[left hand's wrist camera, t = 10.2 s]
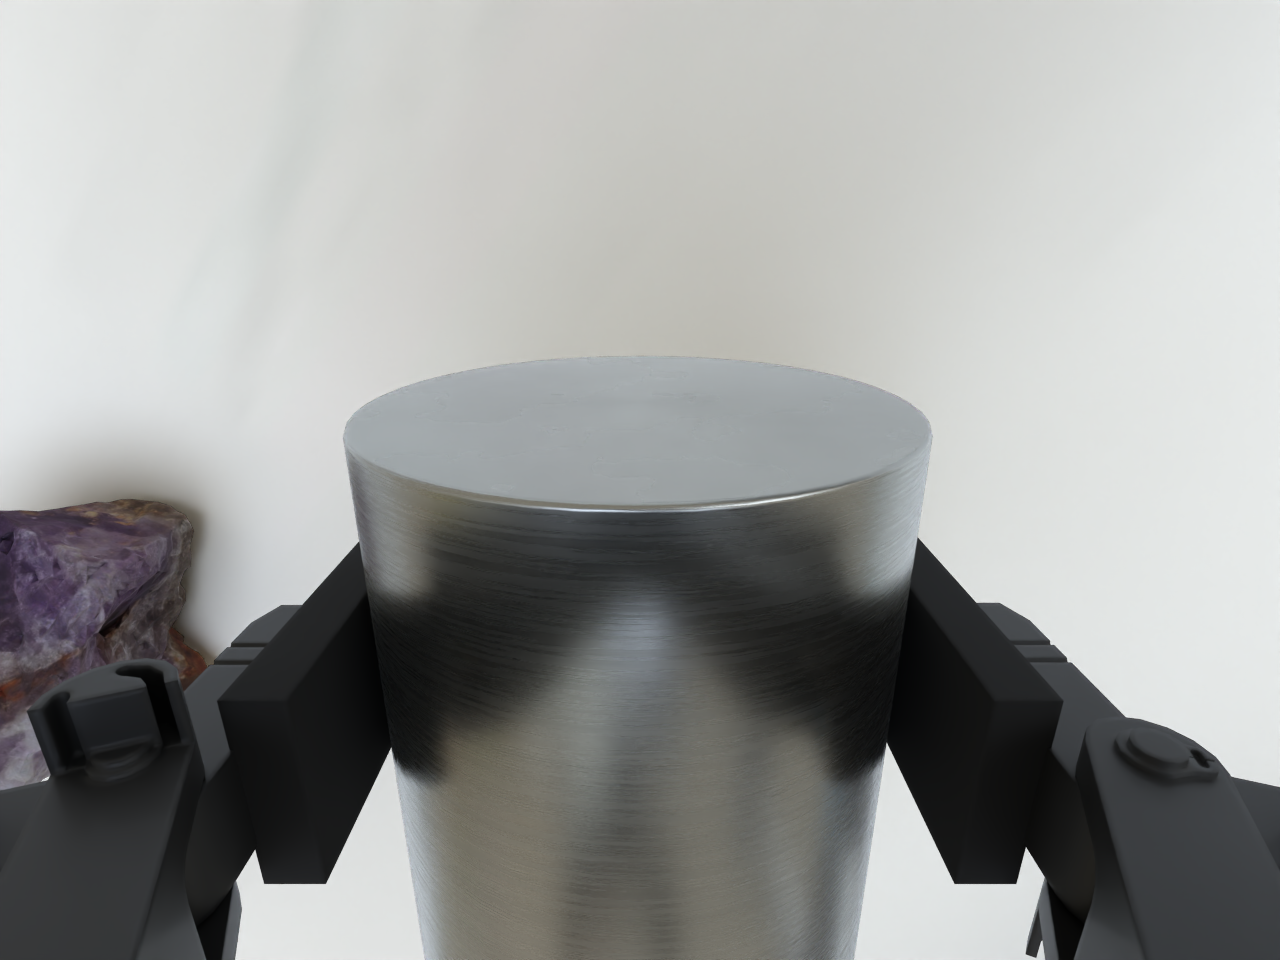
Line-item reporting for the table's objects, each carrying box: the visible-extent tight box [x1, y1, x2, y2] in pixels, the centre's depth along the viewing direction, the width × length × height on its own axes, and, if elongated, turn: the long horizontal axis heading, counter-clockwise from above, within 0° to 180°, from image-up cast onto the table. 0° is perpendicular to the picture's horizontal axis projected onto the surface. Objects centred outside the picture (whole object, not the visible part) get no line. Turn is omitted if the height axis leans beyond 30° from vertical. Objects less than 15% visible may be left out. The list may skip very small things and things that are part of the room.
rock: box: [0, 499, 207, 790], centre depth 28 cm, size 12×9×10 cm
